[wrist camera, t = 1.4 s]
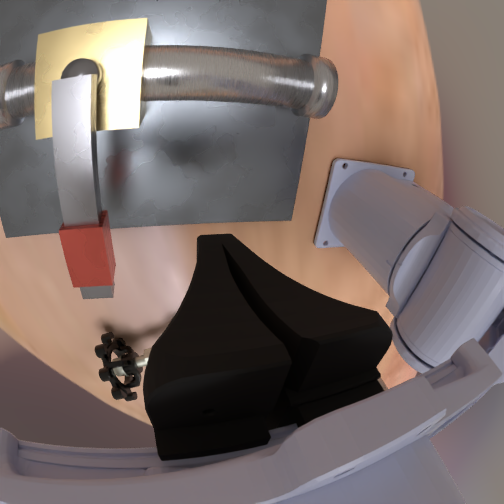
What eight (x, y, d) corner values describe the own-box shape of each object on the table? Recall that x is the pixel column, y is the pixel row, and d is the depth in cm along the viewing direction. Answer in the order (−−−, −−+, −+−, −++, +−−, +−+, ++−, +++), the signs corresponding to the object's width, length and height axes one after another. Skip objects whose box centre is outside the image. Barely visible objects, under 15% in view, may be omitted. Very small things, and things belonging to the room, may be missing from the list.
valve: (218, 278, 25) (97, 320, 23) (238, 338, 19) (92, 380, 18) (237, 325, 29) (131, 359, 27) (256, 379, 23) (133, 413, 22)
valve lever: (63, 62, 8) (45, 61, 6) (107, 56, 9) (96, 52, 7) (85, 275, 14) (78, 303, 12) (119, 273, 14) (116, 301, 13)
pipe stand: (321, -11, 13) (374, -28, 8) (286, 214, 23) (321, 257, 18) (3, -3, 7) (-41, -17, 2) (11, 231, 16) (-21, 279, 12)
